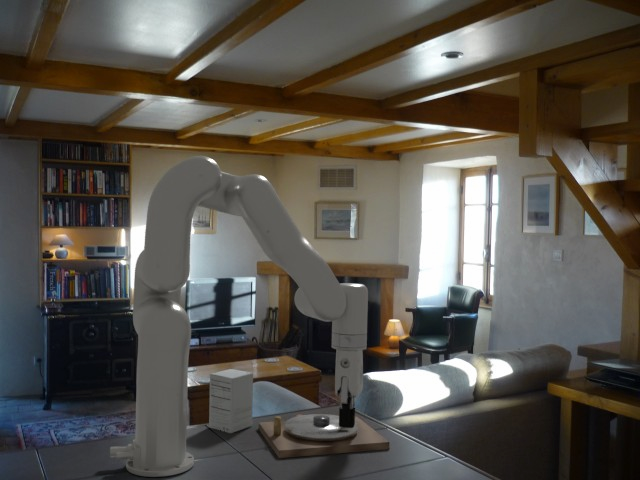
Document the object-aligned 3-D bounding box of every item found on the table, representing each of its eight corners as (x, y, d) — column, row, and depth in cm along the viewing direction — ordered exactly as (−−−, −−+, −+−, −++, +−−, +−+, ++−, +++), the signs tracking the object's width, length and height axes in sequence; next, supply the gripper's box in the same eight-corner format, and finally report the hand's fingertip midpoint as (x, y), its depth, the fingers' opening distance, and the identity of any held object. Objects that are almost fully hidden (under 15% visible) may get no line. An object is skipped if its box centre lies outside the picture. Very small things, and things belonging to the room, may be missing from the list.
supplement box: (230, 420, 153) (231, 368, 153) (253, 426, 148) (254, 372, 148) (207, 427, 147) (208, 373, 147) (231, 434, 142) (232, 377, 142)
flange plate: (313, 445, 129) (314, 422, 129) (269, 425, 143) (269, 404, 143) (372, 432, 139) (373, 411, 139) (325, 414, 152) (326, 395, 152)
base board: (278, 458, 127) (279, 431, 127) (258, 428, 146) (259, 405, 146) (389, 448, 134) (389, 423, 134) (356, 422, 154) (356, 400, 154)
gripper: (362, 347, 128) (359, 438, 128) (370, 337, 143) (368, 418, 143) (325, 345, 130) (323, 435, 130) (337, 335, 144) (335, 415, 144)
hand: (346, 426), depth 136 cm, fingers closed
